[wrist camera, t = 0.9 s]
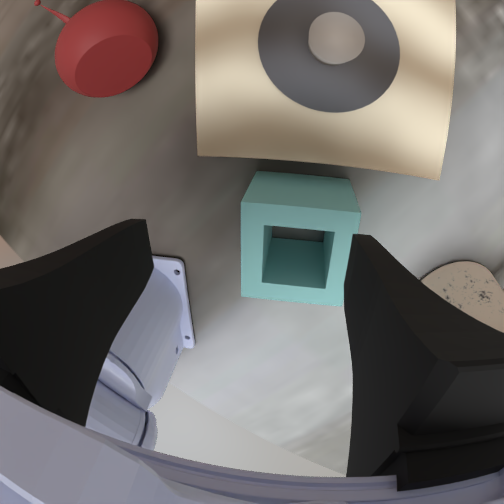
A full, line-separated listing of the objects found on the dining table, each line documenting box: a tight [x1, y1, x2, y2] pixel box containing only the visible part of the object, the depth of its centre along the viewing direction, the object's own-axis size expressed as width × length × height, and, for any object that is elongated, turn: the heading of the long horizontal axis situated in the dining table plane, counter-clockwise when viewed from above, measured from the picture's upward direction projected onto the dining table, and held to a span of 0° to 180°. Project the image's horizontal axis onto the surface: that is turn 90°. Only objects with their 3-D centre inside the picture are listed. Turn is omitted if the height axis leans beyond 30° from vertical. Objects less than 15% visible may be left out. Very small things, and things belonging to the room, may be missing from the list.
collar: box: [241, 171, 361, 306], centre depth 18 cm, size 6×6×5 cm
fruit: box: [34, 0, 158, 97], centre depth 13 cm, size 6×6×8 cm
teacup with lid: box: [421, 261, 504, 333], centre depth 16 cm, size 12×9×12 cm
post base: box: [195, 0, 456, 180], centre depth 12 cm, size 13×14×6 cm
